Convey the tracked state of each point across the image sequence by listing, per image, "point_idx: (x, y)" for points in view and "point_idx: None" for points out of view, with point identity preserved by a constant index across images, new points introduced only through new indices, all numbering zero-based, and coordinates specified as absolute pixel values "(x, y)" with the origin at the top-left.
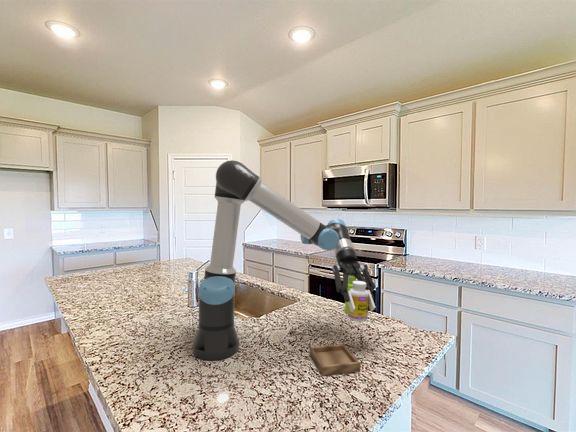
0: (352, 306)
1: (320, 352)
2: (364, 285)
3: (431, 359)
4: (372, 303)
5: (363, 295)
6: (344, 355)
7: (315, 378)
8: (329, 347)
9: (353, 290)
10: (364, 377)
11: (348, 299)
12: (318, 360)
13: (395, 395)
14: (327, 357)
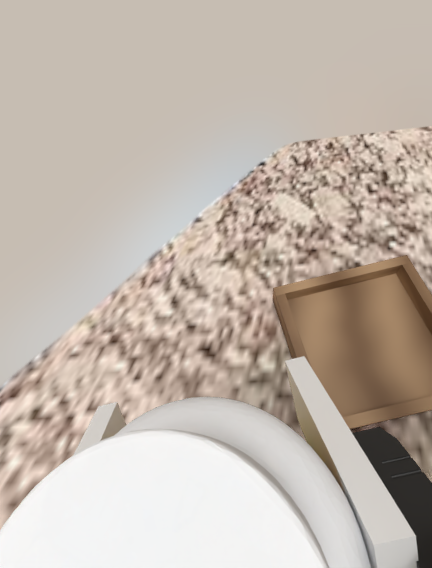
0: (312, 370)
1: (428, 394)
2: (83, 458)
3: (9, 380)
4: (102, 428)
5: (176, 402)
6: (320, 372)
7: (415, 257)
8: (393, 405)
9: (310, 508)
10: (265, 272)
11: (365, 437)
12: (428, 293)
13: (208, 216)
14: (391, 354)
